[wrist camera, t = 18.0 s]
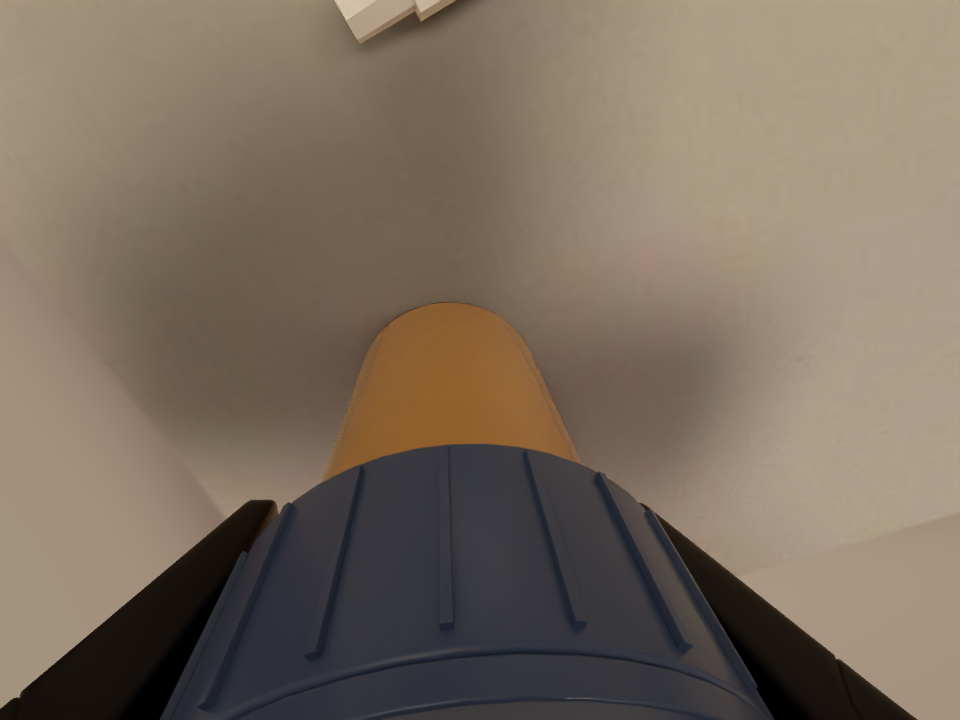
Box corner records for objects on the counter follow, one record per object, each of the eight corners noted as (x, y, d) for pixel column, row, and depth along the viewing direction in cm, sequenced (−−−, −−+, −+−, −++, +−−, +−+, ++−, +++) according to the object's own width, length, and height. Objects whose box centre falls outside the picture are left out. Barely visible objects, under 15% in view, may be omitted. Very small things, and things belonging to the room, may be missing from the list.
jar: (568, 391, 14) (789, 802, 5) (440, 481, 15) (444, 945, 6) (461, 263, 12) (528, 579, 3) (323, 376, 13) (85, 848, 4)
